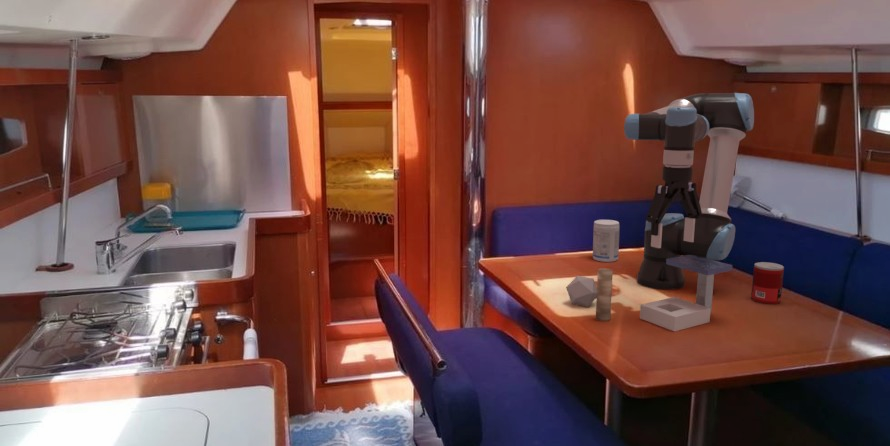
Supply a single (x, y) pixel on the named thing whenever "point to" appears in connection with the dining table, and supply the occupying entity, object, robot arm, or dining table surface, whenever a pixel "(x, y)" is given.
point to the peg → (604, 294)
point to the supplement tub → (606, 240)
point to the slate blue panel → (701, 274)
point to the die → (582, 291)
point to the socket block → (675, 313)
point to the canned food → (767, 282)
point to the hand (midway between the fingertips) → (672, 244)
